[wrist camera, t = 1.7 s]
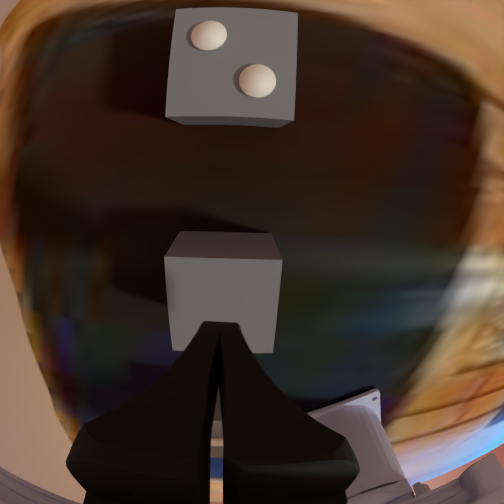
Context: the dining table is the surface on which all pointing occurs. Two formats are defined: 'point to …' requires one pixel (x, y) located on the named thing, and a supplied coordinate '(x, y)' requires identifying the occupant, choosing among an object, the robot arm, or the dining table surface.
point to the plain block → (223, 285)
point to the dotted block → (232, 67)
